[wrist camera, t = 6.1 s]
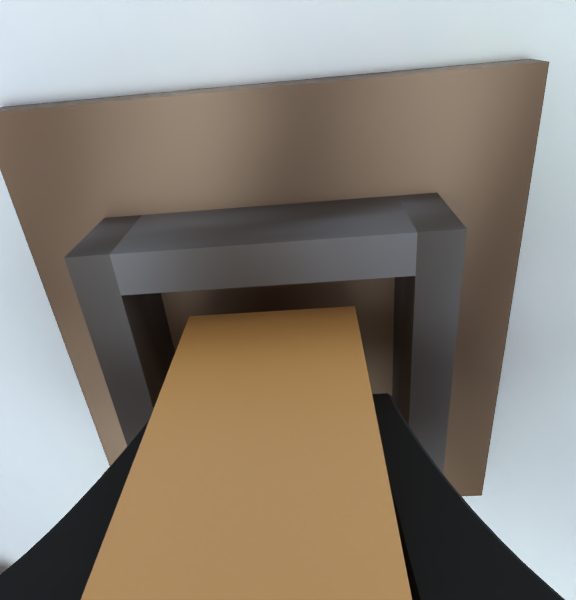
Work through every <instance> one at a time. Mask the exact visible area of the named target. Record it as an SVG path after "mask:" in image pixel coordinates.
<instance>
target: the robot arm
mask: <svg viewBox="0 0 576 600" xmlns="http://www.w3.org/2000/svg"><path fill="white" fill-rule="evenodd" d="M372 396H373V401H374V407H375V412H376V417H377V422H378V427H379V432H380V437H381V442H382V448H383V453H384V458H385V463H386V468H387V473H388V478H389V483H390V489H391V494H392V499H393V504H394V509H395V514H396V519H397V524H398V529H399V535H400V540H401V545H402V550H403V555H404V560H405V565H406V570H407V576H408V581H409V586H410V591H411V596H412V600H564V599H563V598H562V597H561V596H560V595H559V594H558V593H557V592H555V591H554V590H553V589H552V588H551V587H550V586H549V585H548V584H547V583H545V582H544V581H543V580H542V579H541V578H540V577H539V576H538V575H537V574H535V573H534V572H533V571H532V570H531V569H530V568H529V567H528V566H527V565H526V564H525V563H523V562H522V561H521V560H520V559H519V558H518V557H517V556H516V555H515V554H514V553H513V552H512V551H511V550H510V549H509V548H508V547H507V546H506V545H505V544H504V543H503V542H502V541H501V540H500V539H499V538H498V537H497V536H496V534H495V533H494V532H493V531H492V530H491V529H490V528H489V527H488V526H487V525H486V524H485V523H484V522H483V521H482V520H481V519H480V517H479V516H478V515H477V514H476V513H475V512H474V511H473V510H472V508H471V507H470V506H469V505H468V504H467V503H466V502H465V500H464V499H463V498H462V497H461V496H460V494H459V493H458V492H457V491H456V489H455V488H454V487H453V486H452V485H451V483H450V482H449V481H448V480H447V478H446V477H445V476H444V475H443V473H442V472H441V471H440V469H439V468H438V467H437V465H436V464H435V463H434V461H433V460H432V459H431V457H430V456H429V454H428V453H427V452H426V450H425V449H424V448H423V446H422V445H421V443H420V442H419V440H418V439H417V438H416V436H415V434H414V433H413V431H412V430H411V428H410V427H409V425H408V424H407V422H406V420H405V419H404V417H403V416H402V414H401V412H400V410H399V409H398V407H397V405H396V403H395V401H394V399H393V397H392V396H391V395H389V394H388V393H382V394H372ZM149 420H150V419H149ZM149 420H148V421H147V422H146V424H145V425H144V426H143V427H142V429H141V430H140V431H139V432H138V434H137V435H136V436H135V437H134V439H133V440H132V441H131V442H130V443H129V445H128V446H127V447H126V448H125V450H124V451H123V452H122V453H121V454H120V455H119V457H118V458H117V459H116V460H115V461H114V462H113V464H112V465H111V466H110V467H109V468H108V469H107V471H106V472H105V473H104V474H103V475H102V477H101V478H100V479H99V480H98V481H97V482H96V483H95V484H94V485H93V486H92V488H91V489H90V490H89V491H88V492H87V493H86V494H85V495H84V496H83V497H82V498H81V499H80V500H79V502H78V503H77V504H76V505H75V506H74V507H73V508H72V509H71V510H70V511H69V512H68V513H67V514H66V515H65V516H64V517H63V518H62V519H61V520H60V521H59V522H58V523H57V524H56V525H55V526H54V527H53V528H52V529H51V530H50V531H49V532H48V533H47V534H46V535H45V536H44V537H43V538H42V539H41V540H40V541H39V542H37V543H36V544H35V545H34V546H33V547H32V548H31V549H30V550H29V551H28V552H27V553H26V554H24V555H23V556H22V557H21V558H20V559H19V560H18V561H16V562H15V563H14V564H13V565H12V566H10V567H9V568H8V569H7V570H6V571H4V572H3V573H2V574H1V575H0V600H81V597H82V595H83V592H84V590H85V587H86V584H87V582H88V579H89V577H90V574H91V571H92V569H93V566H94V564H95V561H96V558H97V556H98V553H99V550H100V548H101V545H102V543H103V540H104V537H105V535H106V532H107V530H108V527H109V524H110V522H111V519H112V517H113V514H114V511H115V509H116V506H117V503H118V501H119V498H120V496H121V493H122V490H123V488H124V485H125V483H126V480H127V477H128V475H129V472H130V469H131V467H132V464H133V462H134V459H135V456H136V454H137V451H138V449H139V446H140V443H141V441H142V438H143V436H144V433H145V430H146V428H147V425H148V422H149Z"/></svg>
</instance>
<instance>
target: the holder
mask: <svg viewBox="0 0 576 600" xmlns="http://www.w3.org/2000/svg"><path fill="white" fill-rule="evenodd" d="M548 67H549V62H547V61H540V60H534V59H525V60H514V61H503V62H492V63H481V64H470V65H459V66H448V67H437V68H427V69H416V70H405V71H394V72H383V73H372V74H361V75H350V76H339V77H328V78H317V79H306V80H295V81H284V82H273V83H262V84H251V85H240V86H229V87H218V88H207V89H196V90H185V91H174V92H163V93H152V94H141V95H130V96H119V97H108V98H97V99H86V100H75V101H64V102H53V103H42V104H31V105H20V106H9V107H1V108H0V170H1V172H2V175H3V178H4V181H5V183H6V186H7V189H8V191H9V194H10V197H11V200H12V202H13V205H14V208H15V210H16V213H17V216H18V218H19V221H20V224H21V227H22V229H23V232H24V235H25V237H26V240H27V243H28V246H29V248H30V251H31V254H32V256H33V259H34V262H35V265H36V267H37V270H38V273H39V275H40V278H41V281H42V284H43V286H44V289H45V292H46V294H47V297H48V300H49V302H50V305H51V308H52V311H53V313H54V316H55V319H56V321H57V324H58V327H59V330H60V332H61V335H62V338H63V340H64V343H65V346H66V349H67V351H68V354H69V357H70V359H71V362H72V365H73V368H74V370H75V373H76V376H77V378H78V381H79V384H80V387H81V389H82V392H83V395H84V397H85V400H86V403H87V405H88V408H89V411H90V414H91V416H92V419H93V422H94V424H95V427H96V430H97V433H98V435H99V438H100V441H101V443H102V446H103V449H104V452H105V454H106V457H107V460H108V462H109V465H110V466H111V465H112V464H113V462H114V461H115V460H116V459H117V458H118V457H119V455H120V454H121V453H122V452H123V451H124V450H125V448H126V447H127V446H128V445H129V443H130V442H131V441H132V440H133V439H134V437H135V436H136V435H137V434H138V432H139V431H140V430H141V429H142V427H143V426H144V425H145V424H146V422H147V421H148V420H149V419H150V417H151V415H152V412H153V409H154V407H155V404H156V402H157V399H158V396H159V394H160V391H161V389H162V386H163V383H164V381H165V378H166V375H167V373H168V370H169V368H170V365H171V362H172V360H173V357H174V355H175V352H176V349H177V347H178V344H179V342H180V339H181V336H182V334H183V331H184V328H185V326H186V323H187V321H188V318H189V316H203V315H219V314H235V313H251V312H268V311H284V310H300V309H316V308H332V307H348V306H355V309H356V314H357V320H358V325H359V330H360V335H361V340H362V345H363V350H364V355H365V361H366V366H367V371H368V376H369V381H370V386H371V391H372V394H382V393H388V394H389V395H391V396H392V397H393V399H394V401H395V403H396V405H397V407H398V409H399V410H400V412H401V414H402V416H403V417H404V419H405V420H406V422H407V424H408V425H409V427H410V428H411V430H412V431H413V433H414V434H415V436H416V438H417V439H418V440H419V442H420V443H421V445H422V446H423V448H424V449H425V450H426V452H427V453H428V454H429V456H430V457H431V459H432V460H433V461H434V463H435V464H436V465H437V467H438V468H439V469H440V471H441V472H442V473H443V475H444V476H445V477H446V478H447V480H448V481H449V482H450V483H451V485H452V486H453V487H454V488H455V489H456V491H457V492H458V493H459V494H460V496H479V495H482V490H483V484H484V477H485V471H486V464H487V458H488V452H489V445H490V439H491V432H492V426H493V419H494V413H495V407H496V400H497V394H498V387H499V381H500V375H501V368H502V362H503V355H504V349H505V342H506V336H507V330H508V323H509V317H510V310H511V304H512V298H513V291H514V285H515V278H516V272H517V266H518V259H519V253H520V246H521V240H522V233H523V227H524V221H525V214H526V208H527V201H528V195H529V189H530V182H531V176H532V169H533V163H534V156H535V150H536V144H537V137H538V131H539V124H540V118H541V112H542V105H543V99H544V92H545V86H546V79H547V73H548Z"/></svg>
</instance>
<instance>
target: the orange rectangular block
mask: <svg viewBox="0 0 576 600" xmlns="http://www.w3.org/2000/svg"><path fill="white" fill-rule="evenodd" d="M81 600H412V596H411V591H410V586H409V581H408V576H407V570H406V565H405V560H404V555H403V550H402V545H401V540H400V535H399V529H398V524H397V519H396V514H395V509H394V504H393V499H392V494H391V489H390V483H389V478H388V473H387V468H386V463H385V458H384V453H383V448H382V442H381V437H380V432H379V427H378V422H377V417H376V412H375V407H374V401H373V396H372V391H371V386H370V381H369V376H368V371H367V366H366V361H365V355H364V350H363V345H362V340H361V335H360V330H359V325H358V320H357V314H356V309H355V306H348V307H332V308H316V309H300V310H284V311H268V312H251V313H235V314H219V315H203V316H189V318H188V321H187V323H186V326H185V328H184V331H183V334H182V336H181V339H180V342H179V344H178V347H177V349H176V352H175V355H174V357H173V360H172V362H171V365H170V368H169V370H168V373H167V375H166V378H165V381H164V383H163V386H162V389H161V391H160V394H159V396H158V399H157V402H156V404H155V407H154V409H153V412H152V415H151V417H150V420H149V422H148V425H147V428H146V430H145V433H144V436H143V438H142V441H141V443H140V446H139V449H138V451H137V454H136V456H135V459H134V462H133V464H132V467H131V469H130V472H129V475H128V477H127V480H126V483H125V485H124V488H123V490H122V493H121V496H120V498H119V501H118V503H117V506H116V509H115V511H114V514H113V517H112V519H111V522H110V524H109V527H108V530H107V532H106V535H105V537H104V540H103V543H102V545H101V548H100V550H99V553H98V556H97V558H96V561H95V564H94V566H93V569H92V571H91V574H90V577H89V579H88V582H87V584H86V587H85V590H84V592H83V595H82V597H81Z"/></svg>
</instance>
